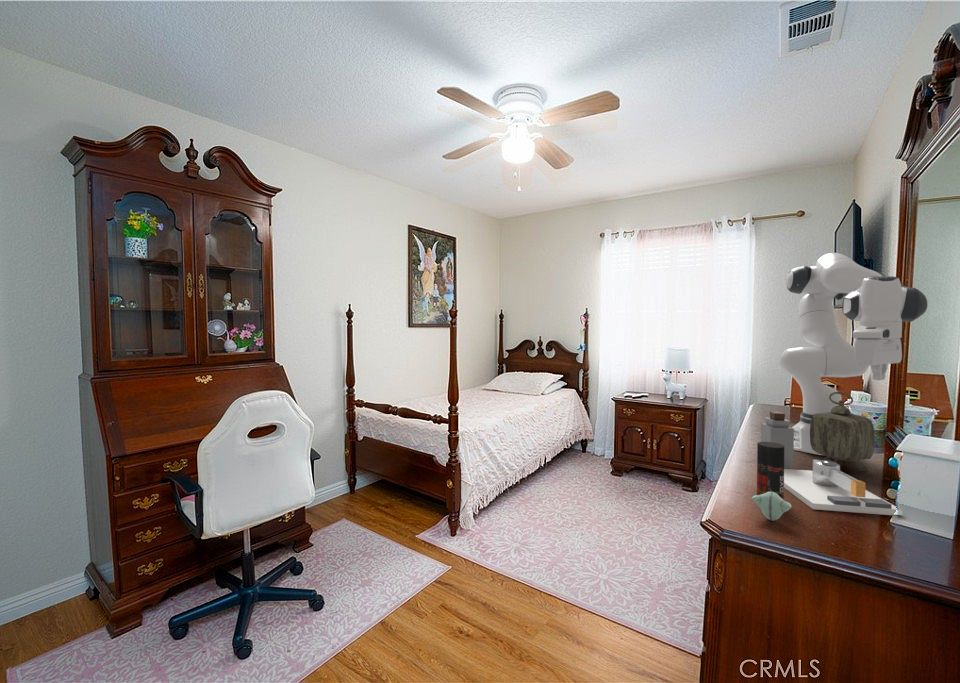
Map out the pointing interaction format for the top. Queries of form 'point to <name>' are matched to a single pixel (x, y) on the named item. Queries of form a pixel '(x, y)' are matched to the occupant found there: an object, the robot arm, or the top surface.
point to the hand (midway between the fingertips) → (878, 379)
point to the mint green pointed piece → (771, 505)
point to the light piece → (836, 477)
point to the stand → (832, 495)
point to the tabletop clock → (842, 434)
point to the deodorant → (770, 468)
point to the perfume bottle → (779, 435)
